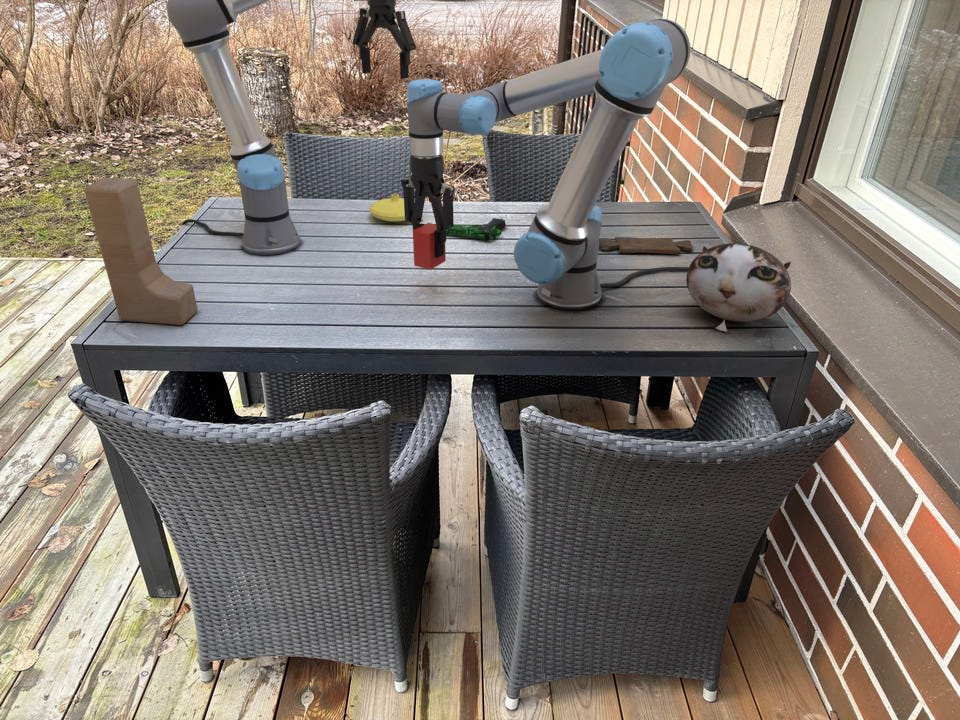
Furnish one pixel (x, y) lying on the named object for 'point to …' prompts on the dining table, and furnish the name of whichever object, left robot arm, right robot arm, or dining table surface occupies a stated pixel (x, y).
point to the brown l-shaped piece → (134, 257)
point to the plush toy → (738, 282)
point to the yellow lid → (389, 209)
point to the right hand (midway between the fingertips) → (430, 253)
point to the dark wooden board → (645, 245)
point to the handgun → (479, 230)
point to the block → (426, 247)
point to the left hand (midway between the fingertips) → (385, 75)
